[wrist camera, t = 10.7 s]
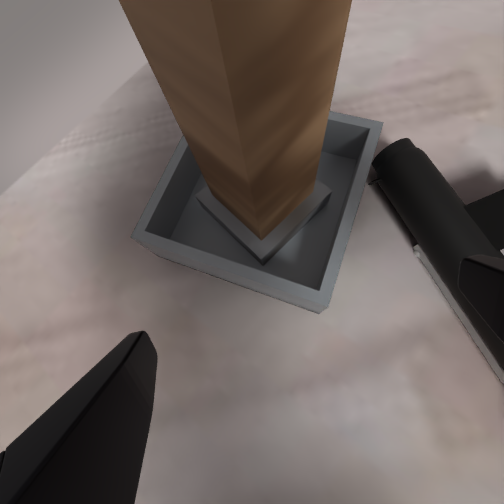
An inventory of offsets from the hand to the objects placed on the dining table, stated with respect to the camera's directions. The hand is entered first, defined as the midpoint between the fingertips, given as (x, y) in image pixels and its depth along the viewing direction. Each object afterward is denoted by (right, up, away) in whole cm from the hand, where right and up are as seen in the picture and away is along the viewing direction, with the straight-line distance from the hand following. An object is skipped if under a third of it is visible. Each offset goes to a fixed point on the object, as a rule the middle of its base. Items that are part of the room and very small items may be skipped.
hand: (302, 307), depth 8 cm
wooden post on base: (-1, +5, +11) cm, 12 cm away
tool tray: (-1, +5, +12) cm, 12 cm away
